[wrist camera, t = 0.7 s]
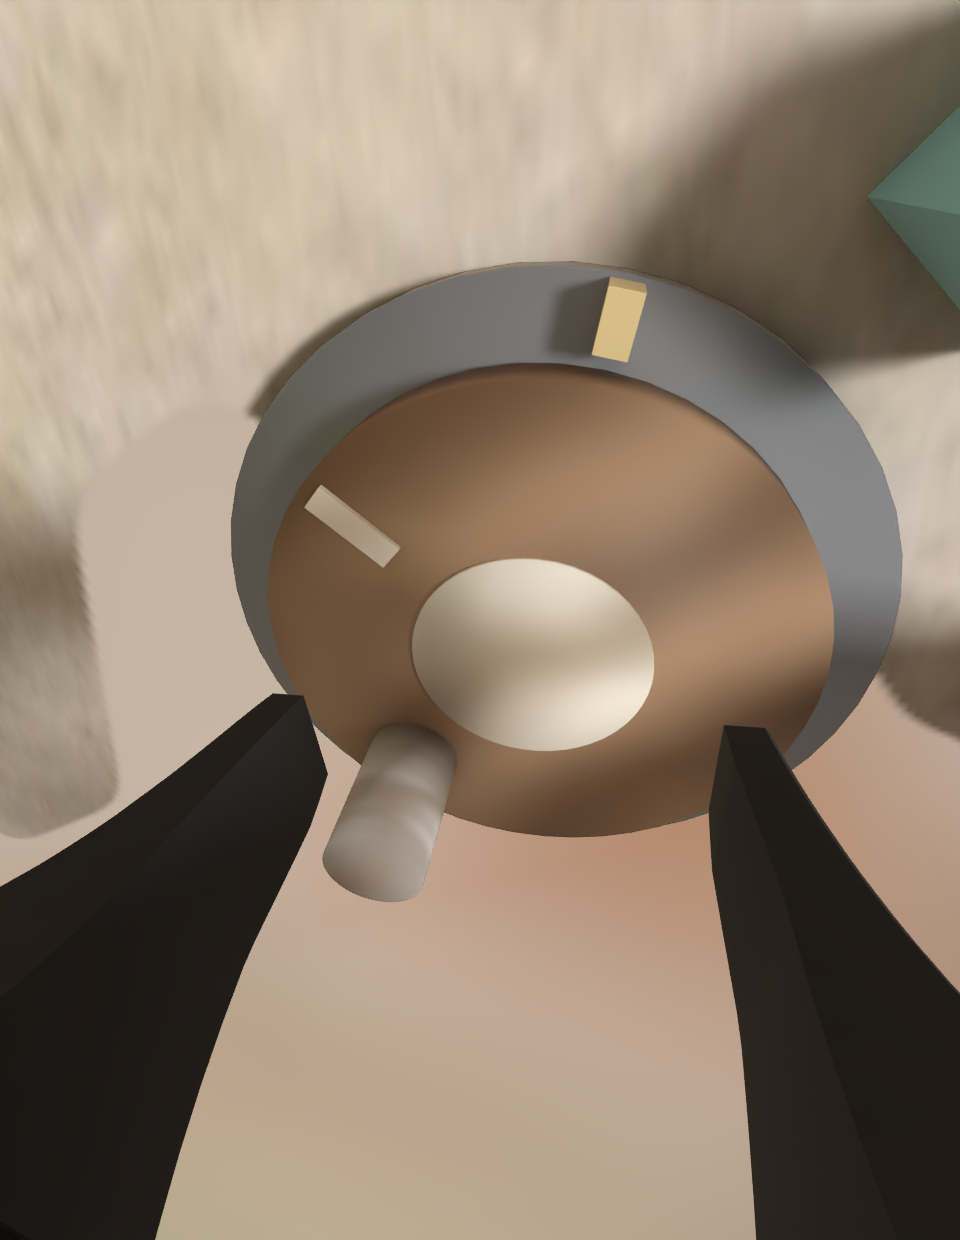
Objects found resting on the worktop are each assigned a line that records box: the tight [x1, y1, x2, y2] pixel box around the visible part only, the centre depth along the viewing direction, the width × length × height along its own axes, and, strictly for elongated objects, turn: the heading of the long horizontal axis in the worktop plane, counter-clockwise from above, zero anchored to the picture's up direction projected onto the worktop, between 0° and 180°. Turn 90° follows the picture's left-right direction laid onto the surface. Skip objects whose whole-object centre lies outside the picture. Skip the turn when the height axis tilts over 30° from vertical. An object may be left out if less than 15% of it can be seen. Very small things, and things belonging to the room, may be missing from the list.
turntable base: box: [231, 261, 902, 824], centre depth 20 cm, size 20×20×2 cm
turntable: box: [268, 363, 834, 902], centre depth 18 cm, size 16×16×6 cm
